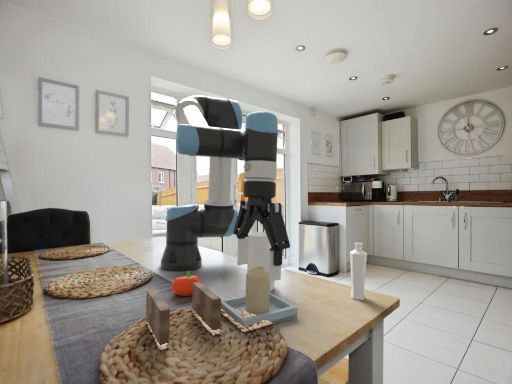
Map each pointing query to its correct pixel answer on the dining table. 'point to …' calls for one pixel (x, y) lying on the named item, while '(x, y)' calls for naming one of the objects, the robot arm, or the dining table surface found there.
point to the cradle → (202, 304)
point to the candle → (257, 291)
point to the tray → (276, 314)
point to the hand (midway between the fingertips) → (257, 271)
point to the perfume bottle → (358, 271)
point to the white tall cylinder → (259, 252)
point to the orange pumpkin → (184, 284)
